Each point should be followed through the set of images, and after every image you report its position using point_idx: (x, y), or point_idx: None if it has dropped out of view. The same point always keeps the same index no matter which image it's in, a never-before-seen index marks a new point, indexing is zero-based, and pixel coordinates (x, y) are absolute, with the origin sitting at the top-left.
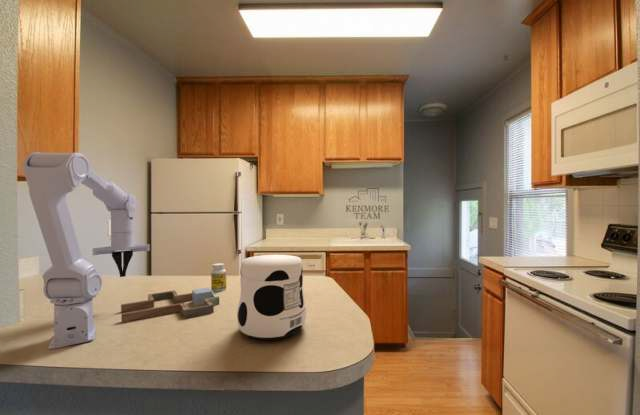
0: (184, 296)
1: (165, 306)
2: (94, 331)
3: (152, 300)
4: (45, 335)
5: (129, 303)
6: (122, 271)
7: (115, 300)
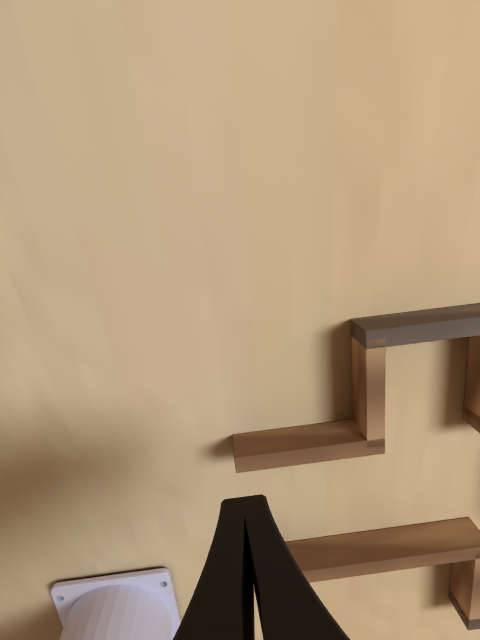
0: None
1: (417, 562)
2: (177, 622)
3: (376, 453)
4: (19, 570)
5: (272, 460)
6: (250, 574)
7: (172, 203)
